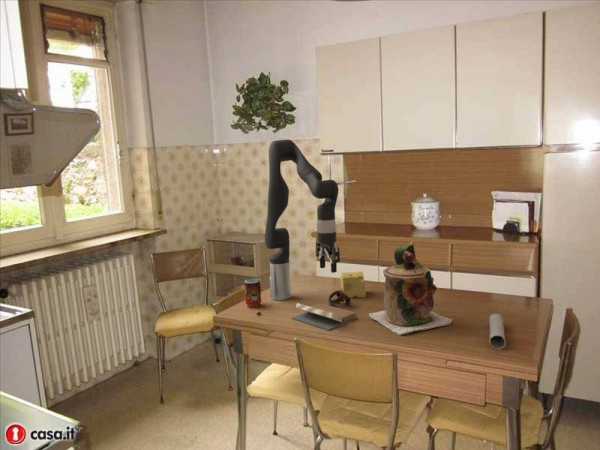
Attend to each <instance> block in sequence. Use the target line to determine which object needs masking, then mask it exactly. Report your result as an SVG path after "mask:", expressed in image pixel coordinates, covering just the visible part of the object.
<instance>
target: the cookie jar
mask: <svg viewBox="0 0 600 450" xmlns="http://www.w3.org/2000/svg"><path fill="white" fill-rule="evenodd" d="M414 245H415V241H414V240H411V241H410V243H407V244H404V245H403V244H402V245H400V246H398V247H397V248H395V251H394V253H393V254H394V255H393V256H394V257H393V258H394V261H395V265H393V266H392V265H391V266H387V267H386V268H384V269H383V272H382V273H383V276H384V278H385V280H384V291H383V307H384V309H385V310H380V311H376V312H371V313H368V315H369V318H370V319H372V320H373V321H376V322H377V323H379V324H381V325H382V326H383V327H385V328H386V329H388V330H390V331H391V332H392V333H394V334H397V335H399V336H402V335H406V334H411V333H414V332H416V331H425V330H430V329H433V328H438V327H443V326H448V325H450V324H452V323H451V322H452V321H453V319H452V318H451V317H450V318H449V317H447V316H443V315H440V314H438V313H435V312H434V311H433V310H434V306H435V305H434V303H435V301H434V300H435V299H434V295H435V294H436V291H437V290H438V287H437V286H436V285H435V284H434V278H435V277H432V271H431V269H429V268H427V267H425V266H424V265H423V264H422V263H420V262H419V260H418V258H417V255H416V251H415V246H414Z"/></svg>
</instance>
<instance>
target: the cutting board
mask: <svg viewBox="0 0 600 450" xmlns="http://www.w3.org/2000/svg"><path fill="white" fill-rule="evenodd" d="M310 307H313V308H317V309H320V310H324V311H327V312H331V313H334V314H336V315H339V316H341V317H343V320H342V322H339V321H336V320H332V319H329V318H325V317H322V316H319V315H315V314H312V313H309V312H305V311H304V312H303V313H301V314H298V315H295V316H292V317H291V320H294V321H297V322H300V323H303V324H307V325H310V326H312V327H315V328H318V329H319V328H320V329H323V330H325V331H328V332H329V331H332V330H334V329H336V328H338V327H341V326H343V325H346V324H349V323H351V322H354V321H355V320H357V319H358V316H356V312H353V311H351V310H347V309H344V308H343V309H342V308H339V307H335V306H329V304H325V303H321V302H320V303H317V304H313V305H311V306H310Z"/></svg>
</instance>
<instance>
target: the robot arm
mask: <svg viewBox="0 0 600 450" xmlns="http://www.w3.org/2000/svg"><path fill="white" fill-rule="evenodd" d="M289 161H291V162H293V163H294V164H295V165H296V172H297V173H296V174H297V175H298V177H299V178H300V179H301V180H302V181H303V182H304V183H305V184H306V185H307V186H308V188H309V190H310V193H311V195H312V196H313V197H314V198H316V199H318V200H320V199H321V200H324V201H323V202H322V203H321V204H319V205H317V208H316V214H317V217H316V219H317V221H316V222H317V223H316V231H317V232H316V233H317V235H316V236H317V242H316V243H315V252H316V253H315V256H316V258H318V260H319V269H325V268H326V257H327V259H328V260H329V261H330V273H332V274H333V273H336V272H337V270H338V268H337V267H338V266H337V264H338V263H340V262H341V257H340V256H341V255H340V253H341V252H340V248H339V246H335V243H336V242H337V223H336V205H337V200H338V196H339V185H338V183H337V182H336V181H335V180H334V179H324V180H323V175H322V173H321V172H320V171H319V170H318V169H317V168H316V167H314V165H312V164H311V163H310V162H309V161H308V159H307V158H306V156H305V155H304V154H303V152H302V151H301V150H300V148H299V147H298V145H297V144H296V143H295V142H294V141H293V140H291V139H278V140H277V139H276V140H272V141H271V142H270V143H269V147H268V170H269V171H268V172H269V173H268V174H269V177H268V191H267V192H268V194H267V216H266V217H267V218H266V223H265V224H266V225H265V229H264V231H265V232H264V244H265V247H266V248H267V249H269V250H274V249H278V250H277V251H276V252H275V253H274V254H271V255H270V256H269V272H270V277H269V278H268V279H269V280H268V281H269V291H270V292H269V293H270V295H269V296H270V298H272V300H275V301H285V300H289V299H291V298H292V287H291V285H292V284H291V270H290V269H291V267H290V255H291V254H290V233H289V230H288V229H287V228H286V227H278V228H276V227H277V223H278V221H279V219H280V218H281V217H282V215H283V213H284V212H285V211H286V209H287V207H288V206H289V200H290V199H289V197H290V189H289V186H288V184H287V182H286V180H285V179H284V178H283V177H284V176H283V175H282V169H281V165H282V164H281V163H282V162H289Z"/></svg>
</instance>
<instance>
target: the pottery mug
mask: <svg viewBox="0 0 600 450" xmlns="http://www.w3.org/2000/svg"><path fill="white" fill-rule="evenodd" d="M334 296H336V297H337V298H334V299H333V297H334ZM344 302H345V305H349V306H350V308H352V307H353V305H352V300H351V298H349V296H348V295H347V294H346V293H344V292H343V291H342V289H338V290H335V291H333V292H331V293H330V295H329V296H328V305H329V306H332V307H335V306H337V305H340V306H341V305H342V303H344Z"/></svg>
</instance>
